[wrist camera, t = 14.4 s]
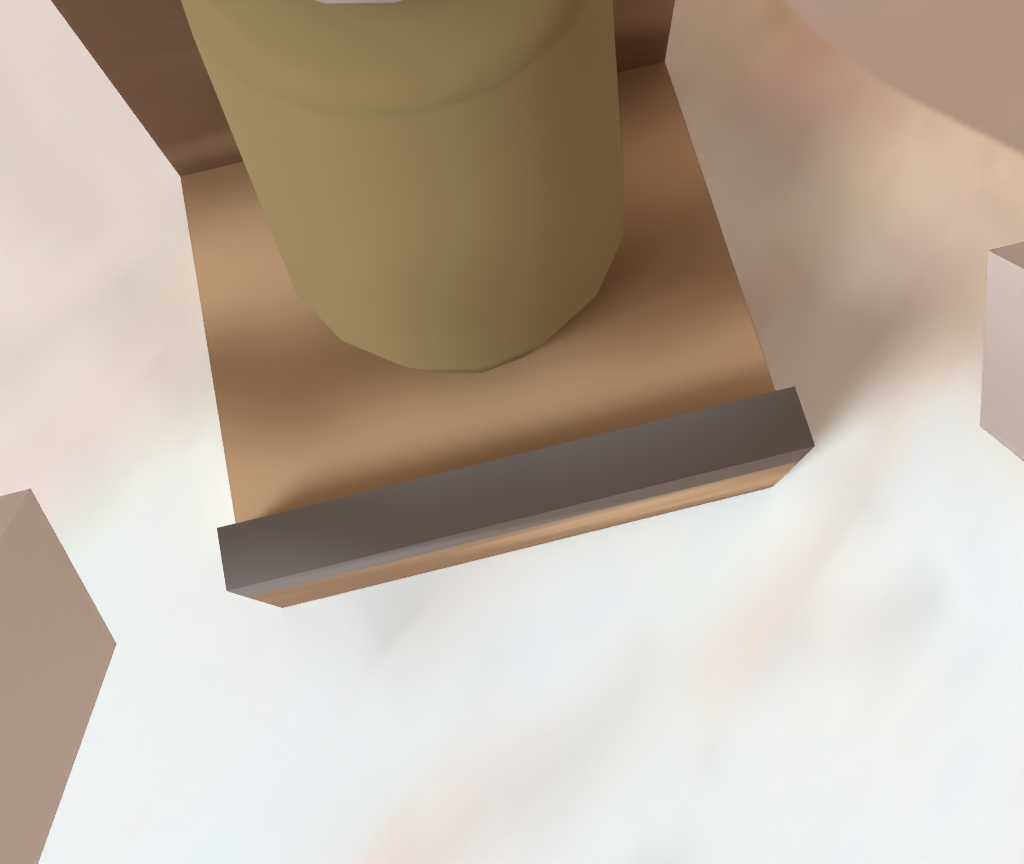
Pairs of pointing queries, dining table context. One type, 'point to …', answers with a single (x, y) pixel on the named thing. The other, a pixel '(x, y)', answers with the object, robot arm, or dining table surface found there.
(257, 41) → the squeeze bottle
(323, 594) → the wooden bookend
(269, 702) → the dining table surface
